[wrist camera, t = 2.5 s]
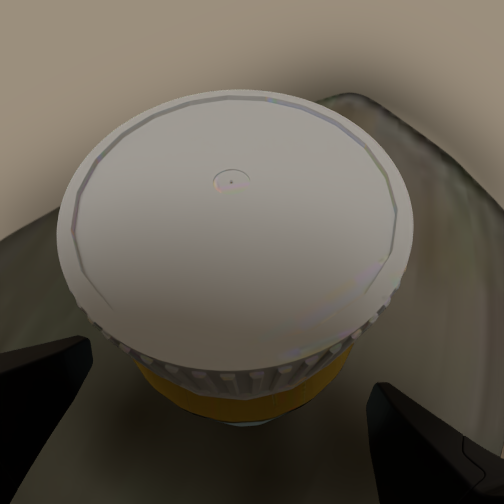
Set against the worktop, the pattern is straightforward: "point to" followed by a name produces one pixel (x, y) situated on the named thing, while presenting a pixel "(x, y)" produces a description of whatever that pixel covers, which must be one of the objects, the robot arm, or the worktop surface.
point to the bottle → (236, 247)
